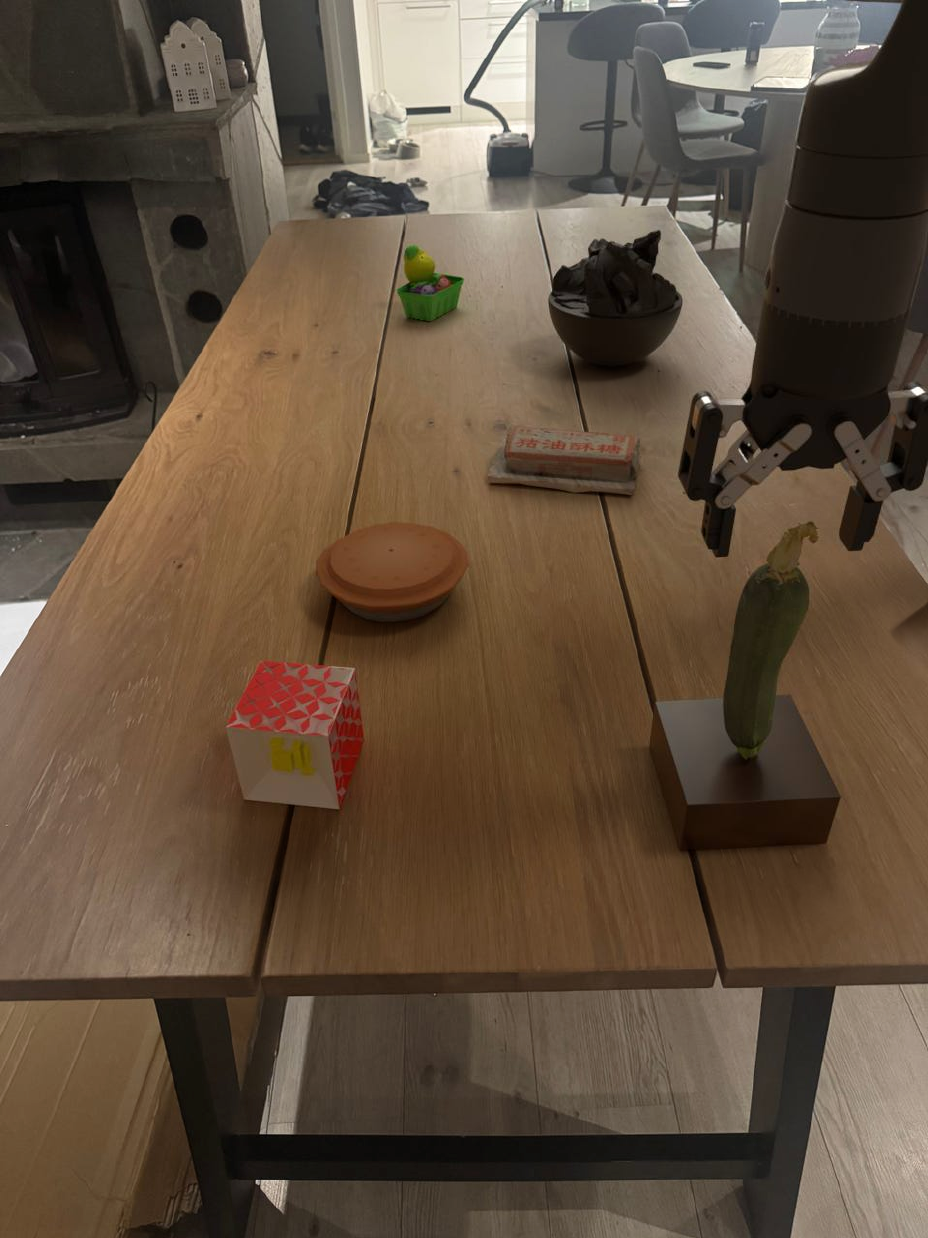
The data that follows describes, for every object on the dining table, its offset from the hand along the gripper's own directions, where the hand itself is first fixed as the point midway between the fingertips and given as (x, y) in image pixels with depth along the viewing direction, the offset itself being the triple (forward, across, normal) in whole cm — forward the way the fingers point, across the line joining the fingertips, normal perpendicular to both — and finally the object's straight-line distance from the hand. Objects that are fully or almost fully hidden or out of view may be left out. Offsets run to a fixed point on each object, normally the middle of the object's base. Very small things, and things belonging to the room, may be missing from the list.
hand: (783, 547), depth 59 cm
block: (+23, 0, 0) cm, 23 cm away
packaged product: (+23, -6, +54) cm, 59 cm away
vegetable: (+18, 0, 0) cm, 18 cm away
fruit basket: (+23, -22, +117) cm, 121 cm away
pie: (+23, -27, +30) cm, 46 cm away
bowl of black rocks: (+23, +6, +90) cm, 93 cm away
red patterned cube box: (+23, -34, +5) cm, 41 cm away
